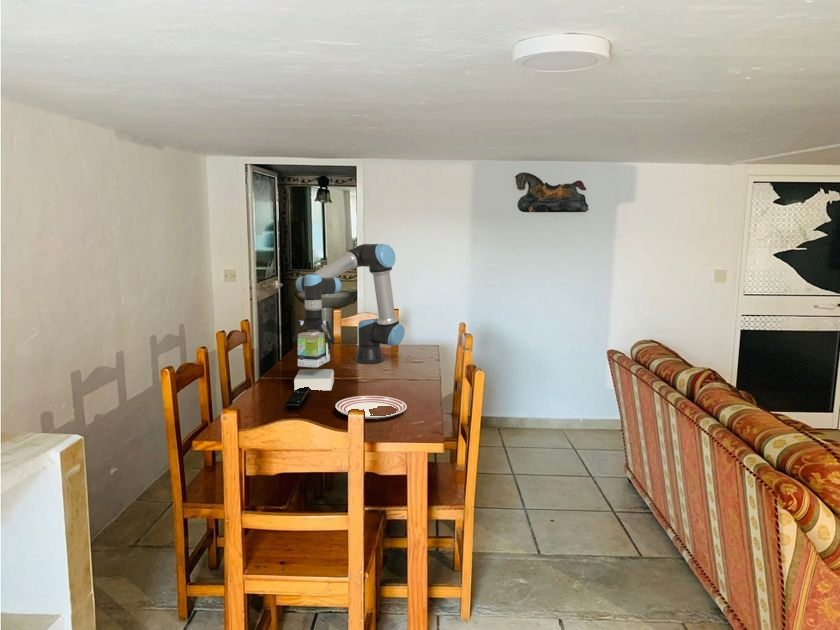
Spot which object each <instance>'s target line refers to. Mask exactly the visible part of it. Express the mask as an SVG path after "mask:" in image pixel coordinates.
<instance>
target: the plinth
mask: <svg viewBox="0 0 840 630" xmlns="http://www.w3.org/2000/svg"><path fill="white" fill-rule="evenodd" d="M293 383H294V391H295V390H297V389H299V388H304V387H309V388H310V389H311V390H319V391H320V390H322V392H323V391H332V389H333V385H334V383H335V371H334V369H333V368H331V369H330V368H329V369H328V368H326V369H325V368H324V369H323V368H322V369H321V368H319V369H316V368H315V369H308V368H307V369H303V368H302V369H299V370H298V372H297V374H296V375H295V377H294V380H293Z"/></svg>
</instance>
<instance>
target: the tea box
mask: <svg viewBox="0 0 840 630" xmlns="http://www.w3.org/2000/svg"><path fill="white" fill-rule="evenodd" d="M323 330H324V333H325V334H327V336H328V337H329V339H331V338H330V335H329V333H328V330H327V329H323ZM324 333H323V332H320V331H319V330H314V329H313V330H309V329H308V331H307V332H304V331H302V332H299V333H298V336H297V340H298V350H297V367H300V368H301V367H302V368H304V367H305V368H319V367H321V366H323V365H324V364H326V363H328V362H330V361H331V349H330V350H328V358H326V343H327V341H326V339H325V338H324Z"/></svg>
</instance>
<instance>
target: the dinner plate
mask: <svg viewBox="0 0 840 630" xmlns="http://www.w3.org/2000/svg"><path fill="white" fill-rule="evenodd" d="M334 406H335V407H334V408H336V410H337V411H338V412H340V413H341V414H343V415H346V416H348V411H349V410H351V409H359V410H363V409H364V411H365V419H375V420H380V419H379V418H383V419H387V418H389V417H394V416H395V415H398V414H401V413H403V412H405V411H406V410H407V408H408V406H407V404H406V403H405V402H404V401H402V400H400V399H397V398H395V397H394V398H393V397H390V396H383V395H381V396H380V395H359V396H351V397H347V398H344V399H341V400H338V401H337V402H336V403H335V405H334ZM378 406H392V407H394V408H396V409H397V411H396V413H394V414H391V415H386V416H370V415H371V414H370V412H369V409H373V408H377V407H378ZM372 415H373V414H372ZM386 417H387V418H386ZM365 419H364V420H365Z"/></svg>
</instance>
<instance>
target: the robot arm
mask: <svg viewBox="0 0 840 630" xmlns="http://www.w3.org/2000/svg"><path fill="white" fill-rule="evenodd" d="M395 262H396V253H395V251H394V249H393V248H392V247H391V246H390V245H388V244H384V243H363V244H359V245H356V246H355V247H353V248H350V249H348V250H346V251H345V252H344V253H343V254H342V255H341V256H340V257H338V258H337V259H335V260H334V261H331V262H330V263H328V264H326V265H325V266H323V267H320V268H319V269H317V270H316V271H315V272H313V273H310V274H306V275H303V276H299V277H298V278H297V279H296V281H295V287H296V289H297V291H298V292H301V293H304V308H305V310H304V319H303V320H301V319H298V321H297V326H296V329H295V332H294V336H293V339H292V342H293V343H296V350H297V351H298V334H300V332H301V331H300V330H301V327H302V326H303V325H305V328H304V330H303V332H307V331H308V330H319V331H320V332H323V333H324V330H325V329H324V328H323V327H322V325H323V324H324V326H325V327H326V330H328V333H329V335H330V339H329V337H328V336H327V334H325V333H324V338H325V339H326V341H327V343H326V358H328V350H330V351H331V350H332V343H334V342H335V340H336V339H335V336H334V333H333V331H332V329H331V326H330V320H328V319H327V320H323V310H322V308H323V301H322V300H323V299H322V297H323V295H324V296H325V295H334V294H338V293H339V292H340V291H341V288H342V282H341V280H340V279H339V278H338V277H339V276H341V275H342V274H344V273H346V272H348V271H349V270H354V269H357V268H360V267H368V270H369V274H372V277H373V284H374V292H375V299H376V305H377V306H376V307H377V312H378V318H369V319H362V320H360V321H359V322H358V327H357V328H358V329H357V330H358V331H357V334H358V336H357V337H358V347H357V351H356V355H355V359H354V360H355V362H356V363H357V364H365V365H367V364H368V365H372V364H381V363H383V362H384V356H383V353H382V349H381V345H387V346H393V347H395V346H398V345H400V344H401V343H402V341H403V339H404V337H405V334H406V333H405V326H404V325H403V324H402V323H400V321H399V317H397V316H396V313H395V312H396V311H395V305H394V295H393V289H392V282H391V274H390V273H391V271H392V270H393V267H394V265H395V264H396V263H395Z"/></svg>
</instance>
